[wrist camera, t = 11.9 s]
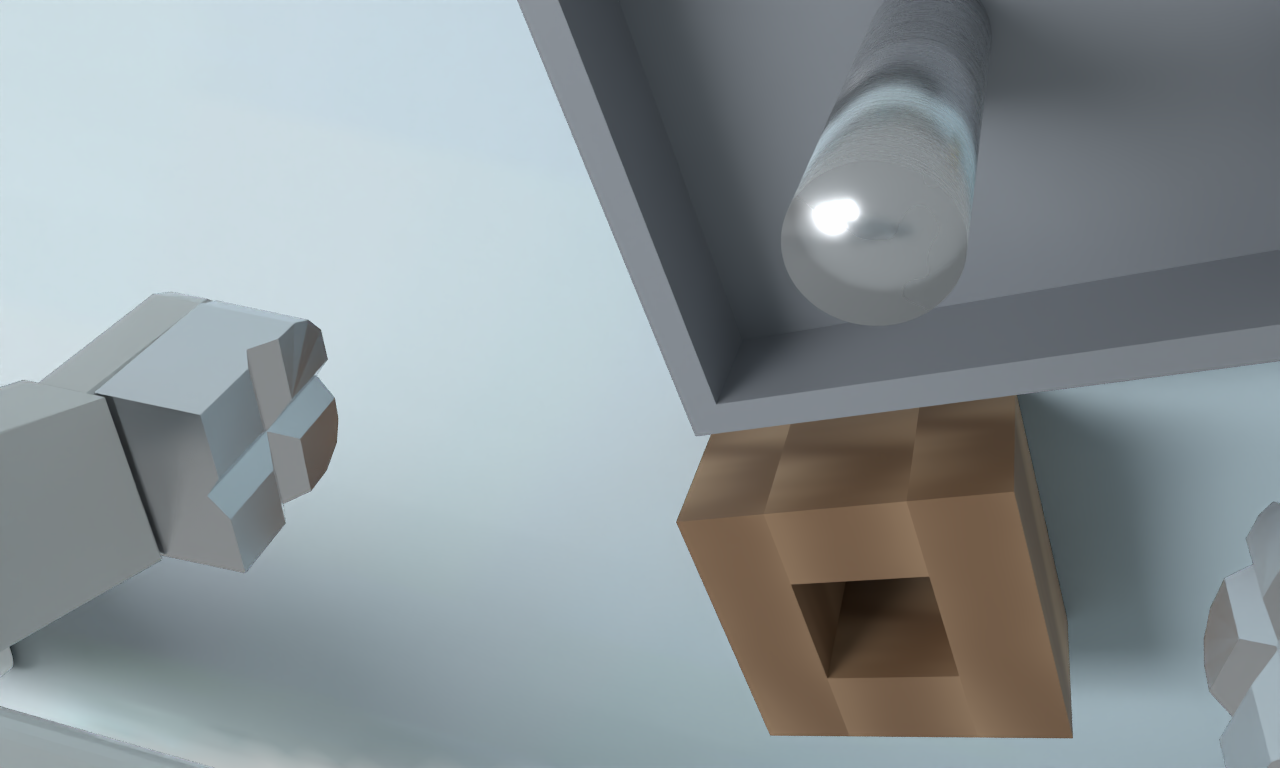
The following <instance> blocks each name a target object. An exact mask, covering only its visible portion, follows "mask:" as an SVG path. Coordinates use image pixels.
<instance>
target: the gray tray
mask: <svg viewBox="0 0 1280 768" xmlns="http://www.w3.org/2000/svg"><path fill="white" fill-rule="evenodd" d="M517 1H518V3H519V6H520V8H521V10H522V13H523V15H524V18H525V20H526V23H527V25H528V28H529V30H530V32H531V35H532V37H533V40H534V42H535V45H536V47H537V50H538V52H539V54H540V57H541V59H542V62H543V64H544V67H545V69H546V72H547V74H548V76H549V79H550V81H551V84H552V86H553V89H554V91H555V94H556V96H557V98H558V101H559V103H560V106H561V108H562V111H563V113H564V116H565V118H566V121H567V123H568V125H569V128H570V130H571V133H572V135H573V138H574V140H575V143H576V145H577V147H578V150H579V152H580V155H581V157H582V160H583V162H584V165H585V167H586V169H587V172H588V174H589V177H590V179H591V182H592V184H593V187H594V189H595V191H596V194H597V196H598V199H599V201H600V204H601V206H602V209H603V211H604V213H605V216H606V218H607V221H608V223H609V226H610V228H611V231H612V233H613V235H614V238H615V240H616V243H617V245H618V248H619V250H620V253H621V255H622V257H623V260H624V262H625V265H626V267H627V270H628V272H629V275H630V277H631V279H632V282H633V284H634V287H635V289H636V292H637V294H638V297H639V299H640V301H641V304H642V306H643V309H644V311H645V314H646V316H647V319H648V321H649V324H650V326H651V328H652V331H653V333H654V336H655V338H656V341H657V343H658V346H659V348H660V350H661V353H662V355H663V358H664V360H665V363H666V365H667V368H668V370H669V372H670V375H671V377H672V380H673V382H674V385H675V387H676V390H677V392H678V394H679V397H680V399H681V402H682V404H683V407H684V409H685V412H686V414H687V416H688V419H689V421H690V424H691V426H692V429H693V431H694V434H695V436H702V435H710V434H717V433H725V432H733V431H741V430H748V429H756V428H764V427H772V426H779V425H787V424H795V423H803V422H810V421H818V420H826V419H834V418H842V417H849V416H857V415H865V414H873V413H880V412H888V411H896V410H904V409H911V408H919V407H927V406H935V405H942V404H950V403H958V402H966V401H973V400H981V399H989V398H997V397H1005V396H1012V395H1020V394H1028V393H1036V392H1043V391H1051V390H1059V389H1067V388H1074V387H1082V386H1090V385H1098V384H1105V383H1113V382H1121V381H1129V380H1136V379H1144V378H1152V377H1160V376H1168V375H1175V374H1183V373H1191V372H1199V371H1206V370H1214V369H1222V368H1230V367H1237V366H1245V365H1253V364H1261V363H1268V362H1276V361H1280V0H979V1H980V2H981V3H982V5H983V6H984V8H985V10H986V12H987V14H988V17H989V20H990V24H991V30H992V42H991V50H990V59H989V67H988V76H987V85H986V93H985V102H984V110H983V119H982V127H981V136H980V144H979V153H978V161H977V170H976V179H975V187H974V196H973V204H972V213H971V221H970V230H969V238H968V247H967V255H966V261H965V265H964V269H963V272H962V274H961V276H960V278H959V280H958V282H957V284H956V285H955V287H954V288H953V290H952V291H951V292H950V293H949V295H948V296H947V297H946V298H945V299H944V300H943V301H942V302H941V303H940V304H938V305H937V306H936V307H935V308H933V309H932V310H930V311H929V312H927V313H925V314H923V315H921V316H919V317H917V318H915V319H912V320H909V321H907V322H903V323H898V324H893V325H885V326H869V325H860V324H855V323H850V322H847V321H844V320H841V319H838V318H836V317H833V316H831V315H829V314H827V313H826V312H824V311H822V310H821V309H819V308H817V307H816V306H815V305H814V304H812V303H811V302H810V301H809V300H808V299H807V298H806V297H805V296H804V295H803V294H802V293H801V292H800V291H799V290H798V288H797V287H796V286H795V284H794V283H793V281H792V279H791V278H790V276H789V274H788V271H787V269H786V267H785V264H784V260H783V256H782V250H781V232H782V226H783V222H784V219H785V215H786V213H787V211H788V208H789V206H790V204H791V202H792V199H793V197H794V195H795V193H796V190H797V188H798V186H799V184H800V181H801V179H802V177H803V175H804V172H805V170H806V168H807V166H808V163H809V161H810V159H811V157H812V154H813V152H814V150H815V148H816V145H817V143H818V141H819V139H820V136H821V134H822V132H823V129H824V127H825V125H826V123H827V120H828V118H829V116H830V114H831V111H832V109H833V107H834V105H835V102H836V100H837V98H838V96H839V93H840V91H841V89H842V87H843V84H844V82H845V80H846V78H847V75H848V73H849V71H850V69H851V66H852V64H853V62H854V60H855V57H856V55H857V53H858V51H859V48H860V46H861V44H862V42H863V39H864V37H865V35H866V33H867V30H868V28H869V26H870V24H871V21H872V19H873V17H874V15H875V13H876V12H877V10H878V8H879V7H880V6H881V5H882V3H883V2H884V1H885V0H517Z"/></svg>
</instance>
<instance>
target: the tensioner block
mask: <svg viewBox="0 0 1280 768" xmlns="http://www.w3.org/2000/svg"><path fill="white" fill-rule="evenodd" d="M676 523H677V525H678V527H679V529H680V532H681V534H682V536H683V538H684V541H685V543H686V545H687V548H688V550H689V552H690V554H691V557H692V559H693V561H694V563H695V566H696V568H697V570H698V573H699V575H700V577H701V579H702V582H703V584H704V586H705V588H706V591H707V593H708V595H709V597H710V600H711V602H712V604H713V607H714V609H715V611H716V613H717V616H718V618H719V620H720V622H721V625H722V627H723V629H724V631H725V634H726V636H727V638H728V641H729V643H730V645H731V647H732V650H733V652H734V654H735V656H736V659H737V661H738V663H739V666H740V668H741V670H742V672H743V675H744V677H745V679H746V681H747V684H748V686H749V688H750V690H751V693H752V695H753V697H754V700H755V702H756V704H757V706H758V709H759V711H760V713H761V715H762V718H763V720H764V722H765V725H766V727H767V729H768V731H769V734H770V735H774V736H884V737H994V738H1073V731H1072V710H1071V688H1070V666H1069V644H1068V622H1067V616H1066V612H1065V607H1064V603H1063V599H1062V594H1061V590H1060V585H1059V581H1058V576H1057V572H1056V567H1055V563H1054V558H1053V554H1052V549H1051V545H1050V541H1049V536H1048V532H1047V527H1046V523H1045V518H1044V514H1043V509H1042V505H1041V500H1040V496H1039V491H1038V487H1037V483H1036V478H1035V474H1034V469H1033V465H1032V460H1031V456H1030V451H1029V447H1028V442H1027V438H1026V434H1025V429H1024V425H1023V420H1022V416H1021V411H1020V407H1019V402H1018V398H1017V395H1012V396H1005V397H997V398H989V399H981V400H973V401H966V402H958V403H950V404H942V405H935V406H927V407H919V408H911V409H904V410H896V411H888V412H880V413H873V414H865V415H857V416H849V417H842V418H834V419H826V420H818V421H810V422H803V423H795V424H787V425H779V426H772V427H764V428H756V429H748V430H741V431H733V432H725V433H717V434H711V436H710V438H709V441H708V443H707V446H706V449H705V451H704V454H703V456H702V459H701V461H700V464H699V466H698V469H697V471H696V474H695V476H694V479H693V481H692V484H691V486H690V489H689V491H688V494H687V496H686V499H685V501H684V504H683V506H682V509H681V511H680V514H679V516H678V519H677V521H676Z"/></svg>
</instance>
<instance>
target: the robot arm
mask: <svg viewBox="0 0 1280 768" xmlns="http://www.w3.org/2000/svg"><path fill="white" fill-rule="evenodd" d="M327 360H328V358H327V354H326V350H325V345H324V341H323V337H322V332H321V329H319V328H318V327H317V326H315V325H314V324H313V323H312V322H310V321H309V320H307V319H302V318H297V317H292V316H288V315H283V314H278V313H273V312H269V311H264V310H259V309H255V308H250V307H245V306H240V305H236V304H231V303H226V302H222V301H212V300H209V299H205V298H200V297H195V296H190V295H185V294H180V293H175V292H165V293H157V294H152V295H151V296H150V297H148V298H147V299H146V300H145V301H143V302H142V303H141V304H139V305H138V306H137V307H135V308H134V309H133V310H132V311H130V312H129V313H128V314H126V315H125V316H124V317H123V318H121V319H120V320H119V321H117V322H116V323H115V324H114V325H112V326H111V327H110V328H108V329H107V330H106V331H105V332H103V333H102V334H101V335H99V336H98V337H97V338H95V339H94V340H93V341H92V342H90V343H89V344H88V345H86V346H85V347H84V348H83V349H81V350H80V351H79V352H77V353H76V354H75V355H74V356H72V357H71V358H70V359H68V360H67V361H66V362H64V363H63V364H62V365H61V366H59V367H58V368H57V369H55V370H54V371H53V372H52V373H50V374H49V375H48V376H46V377H45V378H44V379H43V380H41V381H40V382H39V383H37V382H32V381H27V380H21V381H18V382H15V383H12V384H9V385H5V386H2V387H0V677H2V676H3V675H4V674H5V673H6V672H8V671H9V670H10V669H11V668H12V667H13V657H12V653H11V650H10V646H12V645H13V644H15V643H17V642H19V641H20V640H22V639H24V638H26V637H27V636H29V635H31V634H33V633H34V632H36V631H38V630H40V629H42V628H43V627H45V626H47V625H49V624H50V623H52V622H54V621H56V620H57V619H59V618H61V617H63V616H64V615H66V614H68V613H70V612H71V611H73V610H75V609H77V608H78V607H80V606H82V605H84V604H85V603H87V602H89V601H91V600H92V599H94V598H96V597H98V596H99V595H101V594H103V593H105V592H106V591H108V590H110V589H112V588H114V587H115V586H117V585H119V584H121V583H122V582H124V581H126V580H128V579H129V578H131V577H133V576H135V575H136V574H138V573H140V572H142V571H143V570H145V569H147V568H149V567H150V566H152V565H154V564H156V563H157V562H159V561H161V559H162V558H161V555H163V556H167V557H172V558H177V559H181V560H186V561H191V562H196V563H200V564H205V565H210V566H214V567H219V568H224V569H228V570H233V571H238V572H242V573H246V572H247V571H248V570H249V568H250V567H251V566H252V565H253V563H254V562H255V561H256V560H257V558H258V557H259V556H260V555H261V553H262V552H263V551H264V550H265V548H266V547H267V546H268V545H269V543H270V542H271V541H272V540H273V538H274V537H275V536H276V535H277V533H278V532H279V531H280V530H281V528H282V527H283V526H284V525H285V523H286V522H285V514H284V505H283V504H284V503H286V502H288V501H291V500H293V499H295V498H297V497H299V496H301V495H304V494H306V493H308V492H310V491H311V490H312V489H313V488H314V486H315V485H316V484H317V482H318V481H319V480H320V478H321V477H322V476H323V474H324V473H325V472H326V470H327V468H328V465H329V462H330V460H331V457H332V454H333V451H334V449H335V446H336V443H337V431H338V414H337V408H336V402H335V397H334V396H333V395H332V394H331V393H330V391H329V390H328V389H327V388H326V387H325V385H324V384H323V383H322V382H321V380H320V379H319V378H318V377H317V376H316V375H317V374H318V373H319V371H320V370H321V368H322V367H323V365H324V364H325V363H326V361H327ZM1246 541H1247V544H1248V548H1249V552H1250V555H1251V559H1252V563H1253V564H1252V565H1250V566H1248V567H1246V568H1244V569H1242V570H1240V571H1238V572H1236V573H1234V574H1232V575H1230V576H1228V577H1226V578H1224V580H1223V582H1222V584H1221V586H1220V588H1219V591H1218V593H1217V595H1216V597H1215V599H1214V601H1213V603H1212V605H1211V607H1210V611H1209V616H1208V621H1207V626H1206V631H1205V636H1204V667H1205V672H1206V677H1207V683H1208V688H1209V692H1210V693H1211V694H1212V695H1213V696H1214V697H1215V698H1216V699H1217V701H1218V702H1219V703H1220V704H1221V705H1222V706H1223V707H1224V708H1225V709H1226V710H1227V711H1228V712H1229V714H1230V715H1231V716H1232V719H1231V720H1230V722H1229V724H1228V725H1227V727H1226V729H1225V730H1224V732H1223V734H1222V735H1221V737H1220V739H1219V740H1220V745H1221V749H1222V754H1223V758H1224V763H1225V767H1226V768H1280V503H1277V502H1272V503H1271V504H1270V505H1269V506H1268V507H1267V508H1266V509H1265V510H1264V511H1263V512H1262V513H1260V514H1259V516H1258V517H1257V519H1256V521H1255V523H1254V525H1253V526H1252V528H1251V530H1250V532H1249V534H1248V535H1247V537H1246ZM0 768H214V767H210V766H207V765H203V764H200V763H196V762H193V761H189V760H186V759H182V758H179V757H175V756H172V755H168V754H165V753H161V752H158V751H154V750H151V749H147V748H144V747H141V746H137V745H134V744H130V743H127V742H123V741H120V740H116V739H113V738H109V737H106V736H102V735H99V734H95V733H92V732H88V731H85V730H81V729H78V728H74V727H71V726H67V725H64V724H60V723H57V722H54V721H50V720H47V719H43V718H40V717H36V716H33V715H29V714H26V713H22V712H19V711H15V710H12V709H8V708H5V707H1V706H0Z"/></svg>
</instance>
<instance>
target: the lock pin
mask: <svg viewBox="0 0 1280 768" xmlns="http://www.w3.org/2000/svg"><path fill="white" fill-rule="evenodd" d="M991 42H992V30H991V24H990V20H989V17H988V14H987V12H986V10H985V8H984V6H983V5H982V3H981V2H980V1H979V0H885V1H884V2H883V3H882V5H881V6H880V7H879V8H878V10H877V12H876V13H875V15H874V17H873V19H872V21H871V24H870V26H869V28H868V30H867V33H866V35H865V37H864V39H863V42H862V44H861V46H860V48H859V51H858V53H857V55H856V57H855V60H854V62H853V64H852V66H851V69H850V71H849V73H848V75H847V78H846V80H845V82H844V84H843V87H842V89H841V91H840V93H839V96H838V98H837V100H836V102H835V105H834V107H833V109H832V111H831V114H830V116H829V118H828V120H827V123H826V125H825V127H824V129H823V132H822V134H821V136H820V139H819V141H818V143H817V145H816V148H815V150H814V152H813V154H812V157H811V159H810V161H809V163H808V166H807V168H806V170H805V172H804V175H803V177H802V179H801V181H800V184H799V186H798V188H797V190H796V193H795V195H794V197H793V199H792V202H791V204H790V206H789V208H788V211H787V213H786V215H785V219H784V222H783V226H782V232H781V250H782V256H783V260H784V264H785V267H786V269H787V271H788V274H789V276H790V278H791V279H792V281H793V283H794V284H795V286H796V287H797V288H798V290H799V291H800V292H801V293H802V294H803V295H804V296H805V297H806V298H807V299H808V300H809V301H810V302H811V303H812V304H814V305H815V306H816V307H817V308H819V309H821V310H822V311H824V312H826V313H827V314H829V315H831V316H833V317H836V318H838V319H841V320H844V321H847V322H850V323H855V324H860V325H869V326H885V325H893V324H898V323H903V322H907V321H909V320H912V319H915V318H917V317H919V316H921V315H923V314H925V313H927V312H929V311H930V310H932V309H933V308H935V307H936V306H937V305H938V304H940V303H941V302H942V301H943V300H944V299H945V298H946V297H947V296H948V295H949V293H950V292H951V291H952V290H953V288H954V287H955V285H956V284H957V282H958V280H959V278H960V276H961V274H962V272H963V269H964V265H965V261H966V255H967V247H968V238H969V230H970V221H971V213H972V204H973V196H974V187H975V179H976V170H977V161H978V153H979V144H980V136H981V127H982V119H983V110H984V102H985V93H986V85H987V76H988V67H989V59H990V50H991Z"/></svg>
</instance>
